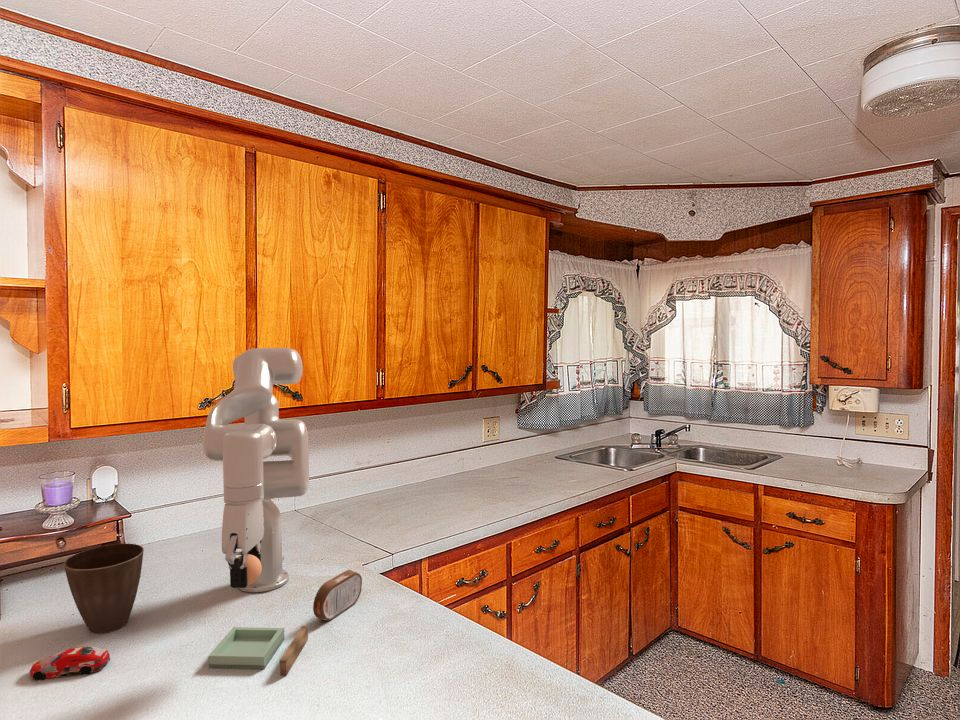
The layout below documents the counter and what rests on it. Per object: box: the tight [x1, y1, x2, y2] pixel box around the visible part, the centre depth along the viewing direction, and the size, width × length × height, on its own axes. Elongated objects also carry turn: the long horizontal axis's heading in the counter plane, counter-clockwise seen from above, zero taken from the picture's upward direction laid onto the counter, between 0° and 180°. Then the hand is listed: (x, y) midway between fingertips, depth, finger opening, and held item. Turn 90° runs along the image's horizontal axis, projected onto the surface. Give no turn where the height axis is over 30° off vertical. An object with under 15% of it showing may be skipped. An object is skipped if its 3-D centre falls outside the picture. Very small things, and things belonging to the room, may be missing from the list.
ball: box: [237, 554, 262, 585], centre depth 121 cm, size 6×6×6 cm
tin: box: [312, 569, 363, 621], centre depth 139 cm, size 15×3×8 cm, turn 154°
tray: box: [207, 626, 285, 670], centre depth 122 cm, size 11×11×2 cm
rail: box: [279, 625, 309, 677], centre depth 121 cm, size 13×1×3 cm, turn 178°
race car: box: [29, 646, 111, 682], centre depth 116 cm, size 13×5×4 cm, turn 102°
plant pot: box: [63, 543, 145, 635], centre depth 133 cm, size 15×15×16 cm
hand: (246, 579), depth 121 cm, fingers closed on ball, 5 cm apart
